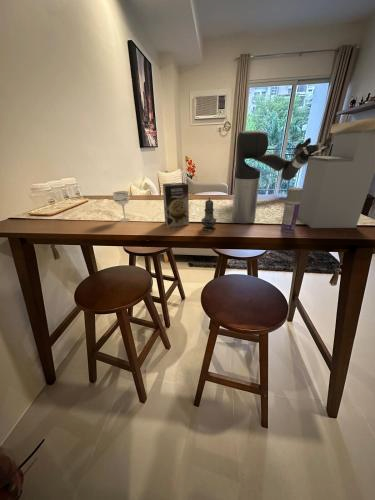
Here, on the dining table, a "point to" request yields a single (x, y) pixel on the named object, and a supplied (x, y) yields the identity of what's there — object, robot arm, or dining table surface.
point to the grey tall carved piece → (209, 217)
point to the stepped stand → (339, 181)
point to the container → (291, 209)
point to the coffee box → (176, 204)
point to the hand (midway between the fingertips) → (320, 139)
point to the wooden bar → (354, 125)
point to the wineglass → (122, 201)
